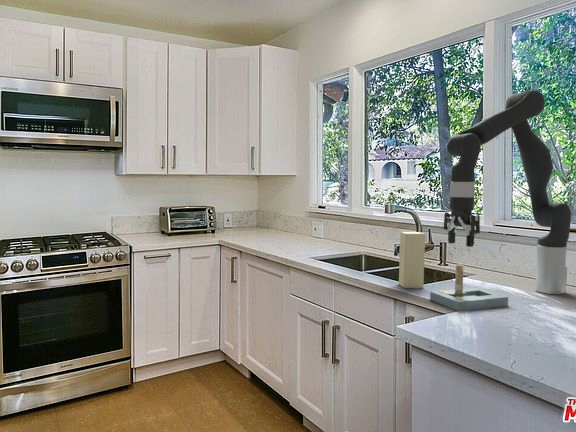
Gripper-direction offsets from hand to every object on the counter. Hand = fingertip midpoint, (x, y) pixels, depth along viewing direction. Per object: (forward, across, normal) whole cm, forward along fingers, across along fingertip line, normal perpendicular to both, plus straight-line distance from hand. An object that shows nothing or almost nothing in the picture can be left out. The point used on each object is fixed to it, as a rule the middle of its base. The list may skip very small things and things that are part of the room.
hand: (460, 244), depth 145 cm
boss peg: (+20, 0, 0) cm, 20 cm away
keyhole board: (+20, 0, -4) cm, 20 cm away
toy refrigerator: (+20, +27, 0) cm, 34 cm away
